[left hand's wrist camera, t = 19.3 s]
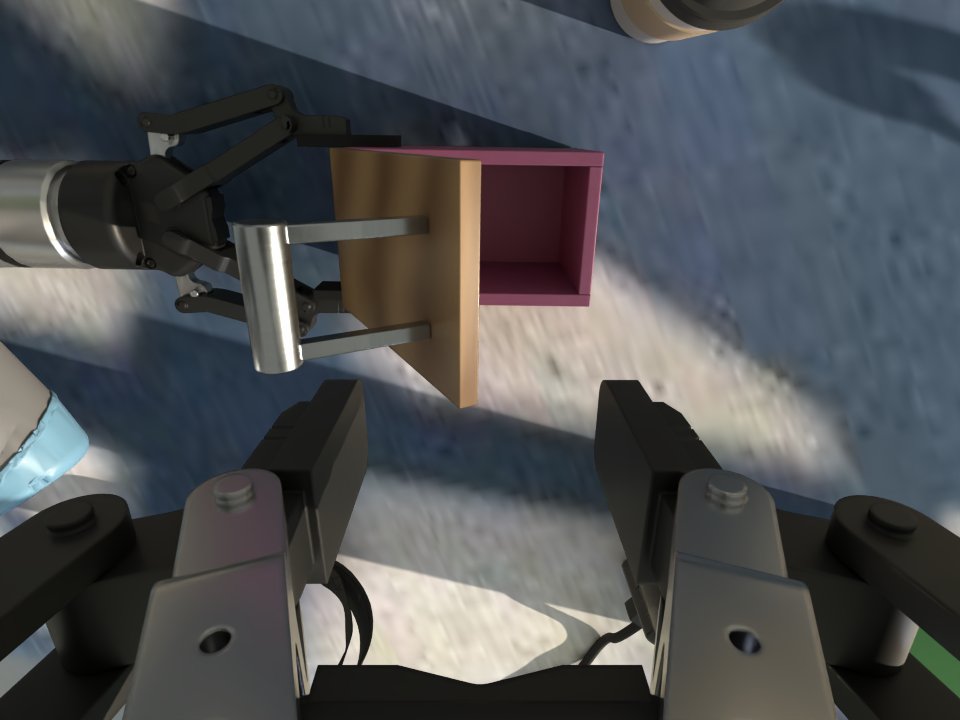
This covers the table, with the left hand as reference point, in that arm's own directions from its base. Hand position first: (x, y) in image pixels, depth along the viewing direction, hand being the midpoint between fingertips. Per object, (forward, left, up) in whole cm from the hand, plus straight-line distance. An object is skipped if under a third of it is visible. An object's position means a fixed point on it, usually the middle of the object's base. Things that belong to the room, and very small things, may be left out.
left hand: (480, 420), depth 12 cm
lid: (-3, +3, -18) cm, 18 cm away
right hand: (-3, +4, -30) cm, 30 cm away
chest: (0, 0, -36) cm, 36 cm away
